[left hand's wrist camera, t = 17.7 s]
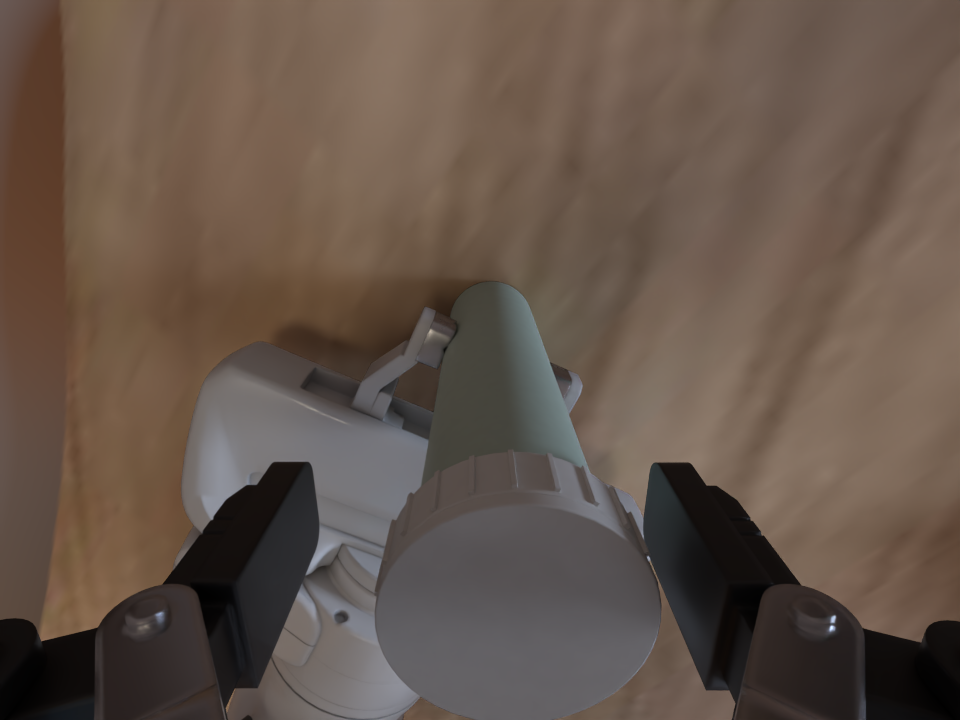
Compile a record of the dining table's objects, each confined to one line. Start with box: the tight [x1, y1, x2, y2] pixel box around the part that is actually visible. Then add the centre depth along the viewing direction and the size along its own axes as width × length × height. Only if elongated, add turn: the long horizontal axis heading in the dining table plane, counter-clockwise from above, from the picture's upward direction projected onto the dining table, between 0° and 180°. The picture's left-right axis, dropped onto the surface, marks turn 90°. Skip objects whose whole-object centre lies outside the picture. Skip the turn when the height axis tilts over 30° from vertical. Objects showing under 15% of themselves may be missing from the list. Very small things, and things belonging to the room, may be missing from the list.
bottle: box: [421, 281, 590, 486], centre depth 19 cm, size 4×4×18 cm
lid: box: [374, 449, 661, 720], centre depth 10 cm, size 5×5×2 cm
